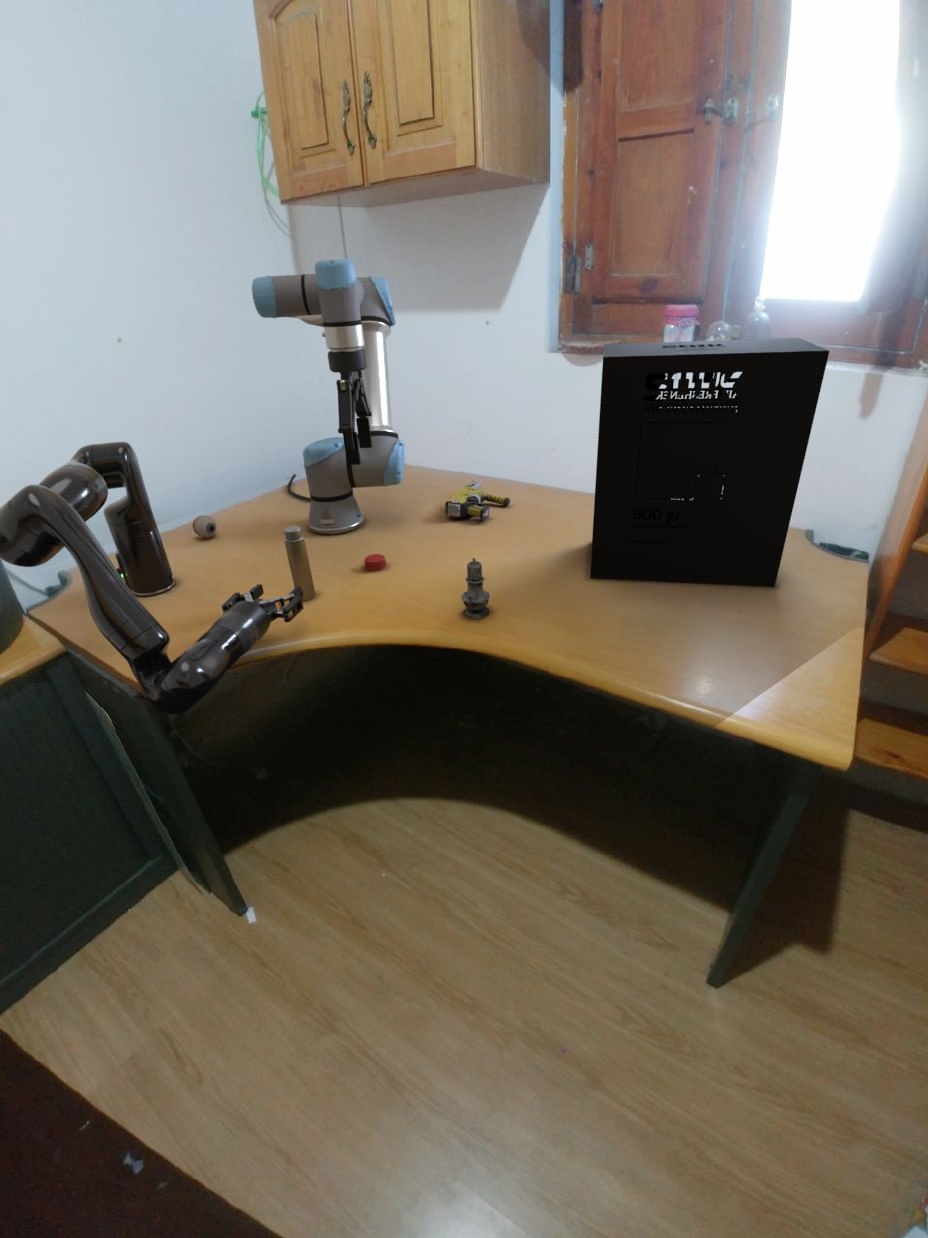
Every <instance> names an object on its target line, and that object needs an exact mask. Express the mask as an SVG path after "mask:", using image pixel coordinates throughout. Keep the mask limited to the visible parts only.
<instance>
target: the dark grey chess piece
mask: <svg viewBox="0 0 928 1238" xmlns="http://www.w3.org/2000/svg"><path fill="white" fill-rule="evenodd" d="M471 560H472V561H471ZM471 560H470V562H468V563H467V565H466V574H467V575H466V576H467V577H466V578H465V582H466V583H467V589H466V591H464V592H463V593H462V594H461V596H460V599H461V600H462V602H463V605H464V606H465V608H464V609H463V615H464V616H465V617H467V618H469V619H481V618H485V617H487V616H488V615H489V614H490V609H489V608H488V607H487V606H488V604H489V602H490V599H491V594H490V592H489V591H487V590H484V581H485V577H484V576H483V566H482V563H481V562H480V561H477V560H476V557H473V558H472V559H471Z"/></svg>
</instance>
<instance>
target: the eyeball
mask: <svg viewBox="0 0 928 1238" xmlns="http://www.w3.org/2000/svg"><path fill="white" fill-rule="evenodd" d="M192 529H193V532H194V533H195V534H196V535H197V536H198V537H201V538H210V537H212V536H214V535H215V533H216V531H217V523H216V521H215V520H214V519H213V518H212V517H211V516H208V515H204V514H203V515H199V516H197V517H196V518H195V519H194V520H193V521H192Z"/></svg>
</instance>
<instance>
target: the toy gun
mask: <svg viewBox="0 0 928 1238" xmlns="http://www.w3.org/2000/svg"><path fill="white" fill-rule="evenodd" d="M485 501H486V502H488V503H492V504H496V505H497V504H498V505H502V506H504V507H508V506H509V505H510V504H511V498H510V497H507V496H506V497H505V496H504V497H503V496H499V495H496V494H492V493H487V494H486V495H485V494H484V491H483V482H481V481H479V480H478V481H477V480H472V481H471V482H469V484H467V485H465V486H464V487H462V488H461V489H460V490H459V491H458V492H456V493H455V494H454V495H453V496H451V497H450V498H448V500H447V501H445V502H444V514H445V515H446V516H449V518H454V519H456V518H465V517H469V516H473V517H476V518H479V521H485V520H487V519H488V518H489V517H490V508H491V506H490V505H485V506H484V505H483V504H482V503H483V502H485Z"/></svg>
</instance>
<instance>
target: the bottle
mask: <svg viewBox="0 0 928 1238" xmlns="http://www.w3.org/2000/svg"><path fill="white" fill-rule="evenodd" d="M283 533H284V538H283V541H284V546H285V550H286V555H287V559H288V560H287V561H288V565H289V569H290V573H291V579H292V583H293V587H294V588H295V587H296V586H300V587H301V589H302V591H303V597H302V602H308V601H311V600H313V599H315V598H316V595H317V594H316V590H315V584H314V579H313V574H312V570H311V566H310V565H311V564H310V559H309V556H308V550H307V549H308V548H307V544H306V539H305V535H303V534H302V528H301V526H299V525H290V526H287V527H285V528H284V529H283ZM294 588H293V589H294Z"/></svg>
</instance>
